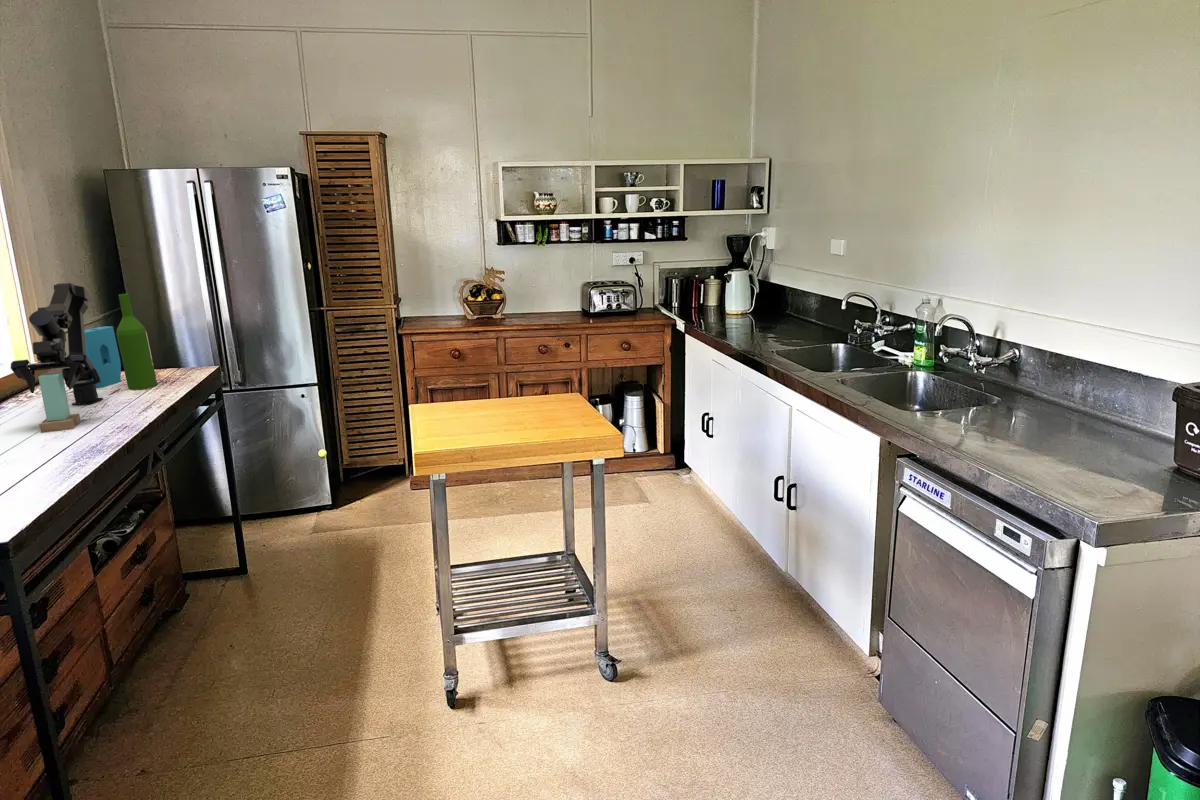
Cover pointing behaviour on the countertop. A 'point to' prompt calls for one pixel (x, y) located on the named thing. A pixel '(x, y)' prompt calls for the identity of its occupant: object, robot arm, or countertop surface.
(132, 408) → the countertop surface
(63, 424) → the walnut slab
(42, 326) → the robot arm
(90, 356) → the block
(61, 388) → the teal block
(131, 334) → the wine bottle
